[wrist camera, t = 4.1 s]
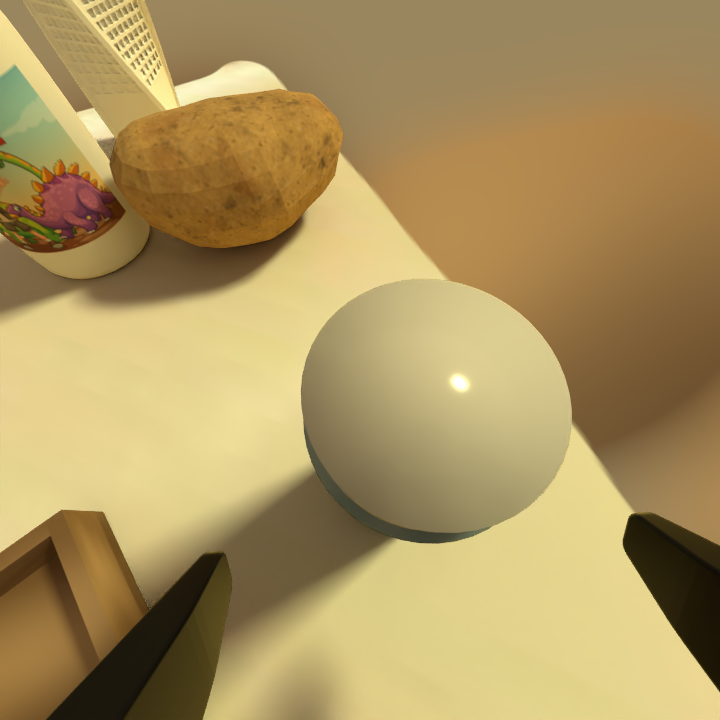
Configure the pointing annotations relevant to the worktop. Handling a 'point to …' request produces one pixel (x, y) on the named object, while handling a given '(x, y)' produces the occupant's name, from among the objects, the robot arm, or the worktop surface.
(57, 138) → the milk bottle
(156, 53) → the skyscraper
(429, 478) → the salt shaker
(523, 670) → the worktop surface
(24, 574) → the caddy
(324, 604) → the worktop surface
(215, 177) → the potato
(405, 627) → the worktop surface
